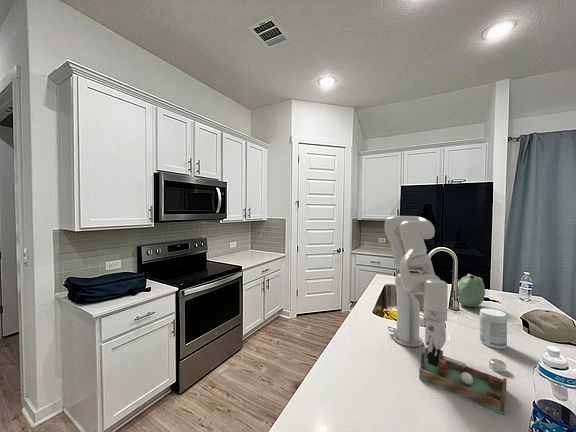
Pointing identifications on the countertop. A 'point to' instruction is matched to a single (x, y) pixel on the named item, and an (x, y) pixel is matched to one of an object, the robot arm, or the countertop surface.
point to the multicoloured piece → (445, 362)
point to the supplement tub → (493, 328)
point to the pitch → (481, 391)
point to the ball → (466, 378)
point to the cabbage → (471, 291)
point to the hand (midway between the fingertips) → (434, 362)
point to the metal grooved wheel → (497, 365)
